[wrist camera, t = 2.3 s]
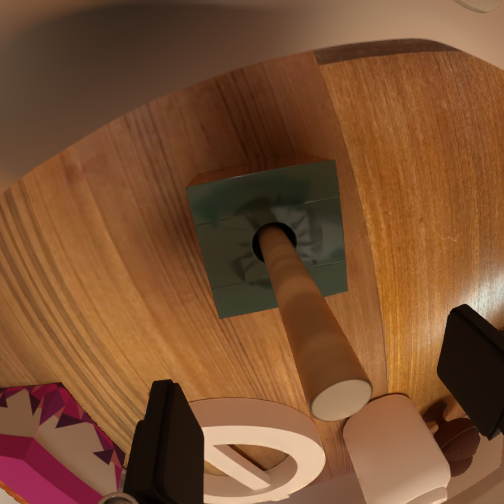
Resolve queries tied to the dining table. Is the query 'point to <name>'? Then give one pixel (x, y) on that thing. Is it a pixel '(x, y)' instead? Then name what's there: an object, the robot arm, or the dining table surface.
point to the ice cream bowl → (454, 438)
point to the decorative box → (54, 448)
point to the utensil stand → (263, 212)
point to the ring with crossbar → (256, 433)
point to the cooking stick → (313, 333)
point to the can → (396, 454)
